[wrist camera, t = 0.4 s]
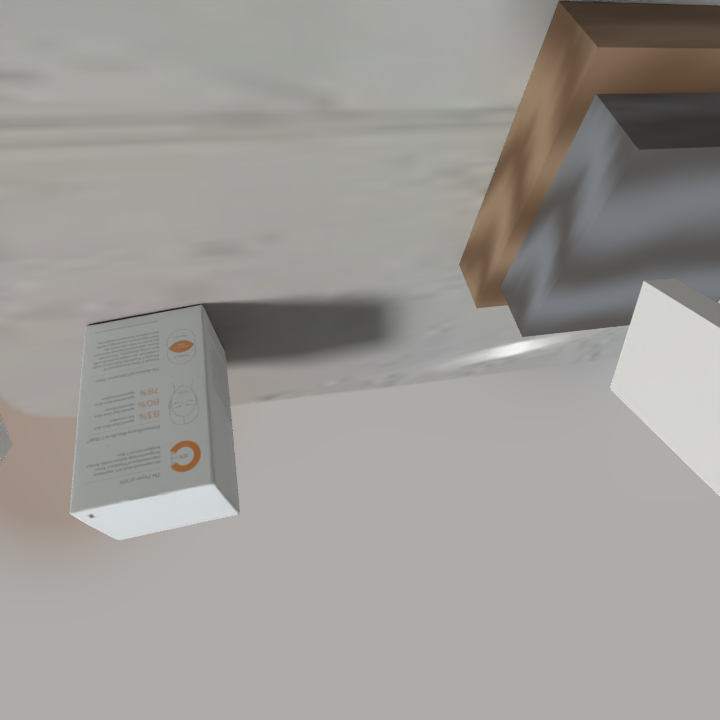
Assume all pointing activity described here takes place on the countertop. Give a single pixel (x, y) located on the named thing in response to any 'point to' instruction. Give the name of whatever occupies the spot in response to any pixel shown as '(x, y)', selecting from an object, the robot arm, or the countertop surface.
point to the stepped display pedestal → (606, 170)
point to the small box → (153, 426)
